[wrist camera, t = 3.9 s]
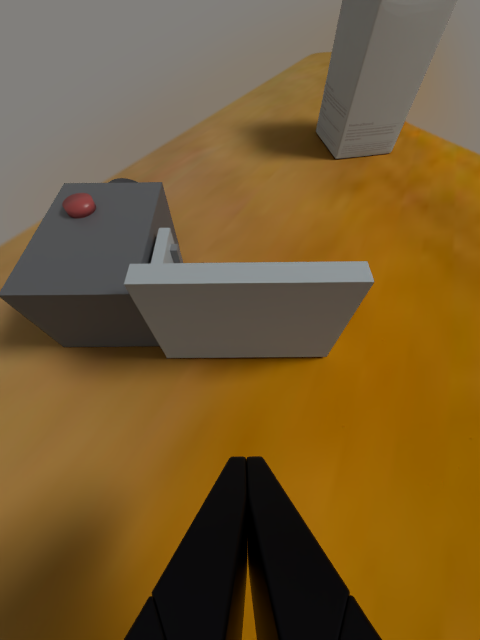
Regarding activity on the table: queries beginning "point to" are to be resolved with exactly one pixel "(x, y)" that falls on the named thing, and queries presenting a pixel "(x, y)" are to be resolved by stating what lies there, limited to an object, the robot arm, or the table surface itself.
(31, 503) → the table surface
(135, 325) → the camera body
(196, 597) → the robot arm
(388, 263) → the table surface
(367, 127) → the supplement box
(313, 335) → the side door
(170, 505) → the table surface
